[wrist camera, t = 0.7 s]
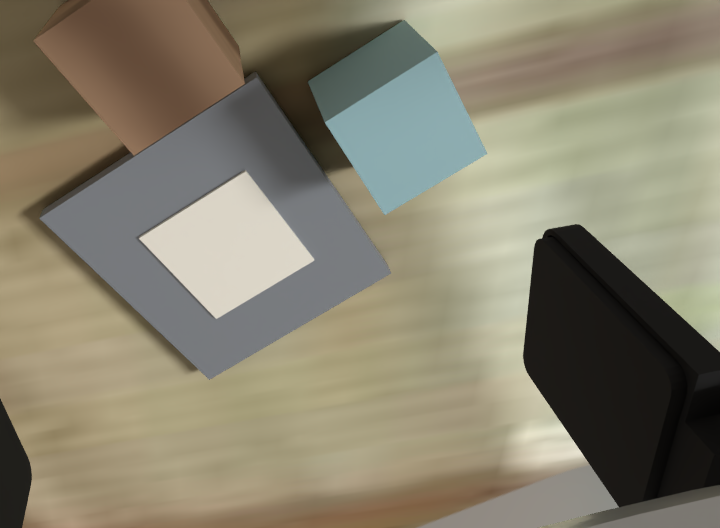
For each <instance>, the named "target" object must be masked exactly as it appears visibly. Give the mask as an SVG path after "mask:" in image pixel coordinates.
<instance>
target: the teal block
mask: <svg viewBox="0 0 720 528" xmlns="http://www.w3.org/2000/svg"><path fill="white" fill-rule="evenodd" d="M308 83H309V86H310V88H311V91H312V93H313V95H314V98H315V100H316V103H317V105H318V107H319V110H320V112H321V115H322V117H323V119H324V122H325V124H326V125H327V127H328V128H329V130H330V131H331V133H332V134H333V136H334V138H335V139H336V141H337V142H338V144H339V145H340V147H341V148H342V150H343V151H344V153H345V155H346V156H347V158H348V159H349V161H350V162H351V164H352V165H353V167H354V169H355V170H356V172H357V173H358V175H359V176H360V178H361V179H362V181H363V182H364V184H365V186H366V187H367V189H368V190H369V192H370V193H371V195H372V196H373V198H374V199H375V201H376V203H377V204H378V206H379V207H380V209H381V210H382V212H383V213H384V215H386V214H387V213H389V212H391V211H392V210H394V209H396V208H397V207H399V206H401V205H402V204H404V203H406V202H407V201H409V200H411V199H412V198H414V197H416V196H417V195H419V194H421V193H422V192H424V191H426V190H427V189H429V188H431V187H432V186H434V185H436V184H438V183H439V182H441V181H443V180H444V179H446V178H448V177H449V176H451V175H453V174H454V173H456V172H458V171H459V170H461V169H463V168H464V167H466V166H468V165H469V164H471V163H473V162H474V161H476V160H478V159H479V158H481V157H483V156H484V155H486V154H487V152H486V150H485V148H484V146H483V144H482V142H481V140H480V138H479V136H478V134H477V132H476V130H475V128H474V126H473V123H472V121H471V119H470V117H469V115H468V113H467V111H466V109H465V107H464V105H463V103H462V101H461V99H460V97H459V95H458V93H457V91H456V89H455V87H454V85H453V83H452V81H451V79H450V77H449V75H448V73H447V71H446V69H445V66H444V64H443V62H442V60H441V58H440V56H439V54H438V52H437V51H436V50H435V49H434V48H433V47H432V46H431V45H430V44H429V43H428V42H427V41H426V40H425V39H423V38H422V37H421V36H420V35H419V34H418V33H417V32H416V31H415V30H414V29H413V28H412V27H411V26H410V25H409V24H408V23H407V22H406V21H405V20H403V21H402V22H400V23H398V24H397V25H395V26H394V27H392V28H391V29H389V30H388V31H386V32H384V33H383V34H381V35H380V36H378V37H377V38H375V39H373V40H372V41H370V42H369V43H367V44H366V45H364V46H362V47H361V48H359V49H358V50H356V51H355V52H353V53H352V54H350V55H348V56H347V57H345V58H344V59H342V60H341V61H339V62H337V63H336V64H334V65H333V66H331V67H330V68H328V69H326V70H325V71H323V72H322V73H320V74H319V75H317V76H316V77H314V78H312V79H311V80H309V81H308Z"/></svg>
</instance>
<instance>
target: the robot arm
mask: <svg viewBox="0 0 720 528" xmlns="http://www.w3.org/2000/svg"><path fill="white" fill-rule="evenodd" d="M523 359H524V365H525V368H526V371H527V373H528V375H529V376H530V378H531V379H532V381H533V382H534V384H535V385H536V386H537V388H538V389H539V391H540V392H541V394H542V395H543V397H544V398H545V400H546V401H547V403H548V404H549V405H550V407H551V408H552V410H553V411H554V413H555V414H556V416H557V417H558V419H559V420H560V421H561V423H562V424H563V426H564V427H565V429H566V430H567V432H568V433H569V435H570V436H571V438H572V439H573V440H574V442H575V443H576V445H577V446H578V448H579V449H580V451H581V452H582V454H583V455H584V457H585V458H586V459H587V461H588V462H589V464H590V465H591V467H592V468H593V470H594V471H595V473H596V474H597V475H598V477H599V478H600V480H601V481H602V482H603V484H604V486H605V487H606V489H607V490H608V492H609V493H610V494H611V496H612V497H613V499H614V500H615V502H616V503H617V505H618V506H619V508H615V509H610V510H606V511H602V512H598V513H594V514H590V515H586V516H582V517H578V518H575V519H571V520H567V521H563V522H559V523H555V524H551V525H547V526H543V527H539V528H720V352H719V351H718V350H717V349H716V348H715V347H713V346H712V345H711V344H710V343H709V342H708V341H707V340H706V339H705V338H704V337H703V336H701V335H700V334H699V333H698V332H697V331H696V330H695V329H694V328H693V327H692V326H691V325H689V324H688V323H687V322H686V321H685V320H684V319H683V318H682V317H681V316H680V315H679V314H677V313H676V312H675V311H674V310H673V309H672V308H671V307H670V306H669V305H668V304H667V303H665V302H664V301H663V300H662V299H661V298H660V297H659V296H658V295H657V294H656V293H655V292H653V291H652V290H651V289H650V288H649V287H648V286H647V285H646V284H645V283H644V282H643V281H641V280H640V279H639V278H638V277H637V276H636V275H635V274H634V273H633V272H632V271H631V270H629V269H628V268H627V267H626V266H625V265H624V264H623V263H622V262H621V261H620V260H619V259H617V258H616V257H615V256H614V255H613V254H612V253H611V252H610V251H609V250H608V249H607V248H605V247H604V246H603V245H602V244H601V243H600V242H599V241H598V240H597V239H596V238H595V237H593V236H592V235H591V234H590V233H589V232H588V231H587V230H586V229H585V228H584V227H582V226H581V225H577V224H575V225H570V226H564V227H558V228H553V229H548V230H546V231H545V233H544V235H543V238H542V239H538V240H537V241H536V243H535V247H534V256H533V265H532V275H531V285H530V294H529V304H528V314H527V323H526V333H525V343H524V352H523ZM31 480H32V473H31V466H30V462H29V459H28V457H27V455H26V453H25V451H24V448H23V446H22V444H21V442H20V440H19V438H18V436H17V433H16V431H15V429H14V427H13V425H12V423H11V421H10V419H9V416H8V414H7V412H6V410H5V408H4V406H3V404H2V401H1V399H0V528H22V525H23V520H24V515H25V510H26V506H27V501H28V496H29V491H30V486H31Z"/></svg>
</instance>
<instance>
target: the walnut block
mask: <svg viewBox="0 0 720 528" xmlns="http://www.w3.org/2000/svg"><path fill="white" fill-rule="evenodd" d="M33 41H34V42H35V44H36V45H37V46H38V47H39V48H40V49H41V50H42V52H43V53H44V54H45V55H46V56H47V57H48V58H49V60H50V61H51V62H52V63H53V64H54V65H55V66H56V68H57V69H58V70H59V71H60V72H61V73H62V74H63V76H64V77H65V78H66V79H67V80H68V81H69V82H70V84H71V85H72V86H73V87H74V88H75V89H76V90H77V91H78V93H79V94H80V95H81V96H82V97H83V98H84V99H85V101H86V102H87V103H88V104H89V105H90V106H91V107H92V109H93V110H94V111H95V112H96V113H97V114H98V115H99V117H100V118H101V119H102V120H103V121H104V122H105V123H106V125H107V126H108V127H109V128H110V129H111V130H112V131H113V133H114V134H115V135H116V136H117V137H118V138H119V139H120V141H121V142H122V143H123V144H124V145H125V146H126V147H127V148H128V150H129V151H130V152H131V153H132V154H133V155H136V154H137V153H139V152H140V151H142V150H143V149H145V148H146V147H148V146H150V145H151V144H153V143H154V142H156V141H157V140H159V139H160V138H162V137H163V136H165V135H167V134H168V133H170V132H171V131H173V130H174V129H176V128H177V127H179V126H180V125H182V124H184V123H185V122H187V121H188V120H190V119H191V118H193V117H194V116H196V115H197V114H199V113H201V112H202V111H204V110H205V109H207V108H208V107H210V106H211V105H213V104H214V103H216V102H218V101H219V100H221V99H222V98H224V97H225V96H227V95H228V94H230V93H231V92H233V91H235V90H236V89H238V88H239V87H241V86H242V85H244V84H245V81H244V75H243V69H242V63H241V57H240V51H239V46H238V45H237V43H236V42H235V40H234V39H233V37H232V36H231V34H230V33H229V31H228V30H227V28H226V27H225V26H224V24H223V23H222V21H221V20H220V18H219V17H218V15H217V14H216V12H215V11H214V9H213V8H212V6H211V5H210V3H209V2H208V1H207V0H68V1H67V2H65V3H64V4H62V5H61V6H60V7H59V8H58V9H57V10H56V11H55V13H54V14H53V15H52V17H51V18H50V19H49V21H48V22H47V23H46V24H45V26H44V27H43V28H42V30H41V31H40V32H39V34H38V35H37V36H36V38H35V39H34V40H33Z"/></svg>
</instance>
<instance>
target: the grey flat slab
mask: <svg viewBox="0 0 720 528" xmlns="http://www.w3.org/2000/svg"><path fill="white" fill-rule="evenodd" d="M244 81H245V84H244V85H242V86H241V87H239V88H238V89H236V90H235V91H233V92H231V93H230V94H228V95H227V96H225V97H224V98H222V99H221V100H219V101H218V102H216V103H214V104H213V105H211V106H210V107H208V108H207V109H205V110H204V111H202V112H201V113H199V114H197V115H196V116H194V117H193V118H191V119H190V120H188V121H187V122H185V123H184V124H182V125H180V126H179V127H177V128H176V129H174V130H173V131H171V132H170V133H168V134H167V135H165V136H163V137H162V138H160V139H159V140H157V141H156V142H154V143H153V144H151V145H150V146H148V147H146V148H145V149H143V150H142V151H140V152H139V153H137V154H136V155H133V154H132V153H129V154H128V155H126V156H124V157H123V158H121V159H120V160H118V161H117V162H115V163H114V164H112V165H111V166H109V167H108V168H106V169H104V170H103V171H101V172H100V173H98V174H97V175H95V176H94V177H92V178H91V179H89V180H88V181H86V182H84V183H83V184H81V185H80V186H78V187H77V188H75V189H74V190H72V191H71V192H69V193H68V194H66V195H64V196H63V197H61V198H60V199H58V200H57V201H55V202H54V203H52V204H51V205H49V206H48V207H46V208H44V209H43V210H42V213H41V215H40V218H39V219H40V220H42V221H43V222H44V223H45V224H46V225H47V226H48V227H49V228H50V229H51V230H52V231H53V232H54V233H55V234H56V235H57V236H58V237H59V238H60V239H62V240H63V241H64V242H65V243H66V244H67V245H68V246H69V247H70V248H71V249H72V250H73V251H74V252H75V253H76V254H77V255H78V256H79V257H81V258H82V259H83V260H84V261H85V262H86V263H87V264H88V265H89V266H90V267H91V268H92V269H93V270H94V271H95V272H96V273H97V274H98V275H100V276H101V277H102V278H103V279H104V280H105V281H106V282H107V283H108V284H109V285H110V286H111V287H112V288H113V289H114V290H115V291H116V292H117V293H118V294H120V295H121V296H122V297H123V298H124V299H125V300H126V301H127V302H128V303H129V304H130V305H131V306H132V307H133V308H134V309H135V310H136V311H137V312H139V313H140V314H141V315H142V316H143V317H144V318H145V319H146V320H147V321H148V322H149V323H150V324H151V325H152V326H153V327H154V328H155V329H156V330H157V331H159V332H160V333H161V334H162V335H163V336H164V337H165V338H166V339H167V340H168V341H169V342H170V343H171V344H172V345H173V346H174V347H175V348H176V349H178V350H179V351H180V352H181V353H182V354H183V355H184V356H185V357H186V358H187V359H188V360H189V361H190V362H191V363H192V364H193V365H194V366H195V367H196V368H198V369H199V370H200V371H201V372H202V373H203V374H204V375H205V376H206V377H207V378H208V379H209V380H210V379H211V378H213V377H215V376H216V375H218V374H220V373H222V372H223V371H225V370H227V369H228V368H230V367H232V366H234V365H235V364H237V363H239V362H240V361H242V360H244V359H245V358H247V357H249V356H251V355H252V354H254V353H256V352H257V351H259V350H261V349H263V348H264V347H266V346H268V345H269V344H271V343H273V342H275V341H276V340H278V339H280V338H281V337H283V336H285V335H287V334H288V333H290V332H292V331H293V330H295V329H297V328H299V327H300V326H302V325H304V324H305V323H307V322H309V321H310V320H312V319H314V318H316V317H317V316H319V315H321V314H322V313H324V312H326V311H328V310H329V309H331V308H333V307H334V306H336V305H338V304H340V303H341V302H343V301H345V300H346V299H348V298H350V297H352V296H353V295H355V294H357V293H358V292H360V291H362V290H363V289H365V288H367V287H369V286H370V285H372V284H374V283H375V282H377V281H379V280H381V279H382V278H384V277H386V276H387V275H389V274H391V272H390V269H389V267H388V265H387V263H386V262H385V260H384V259H383V257H382V256H381V254H380V253H379V251H378V250H377V249H376V247H375V246H374V244H373V243H372V241H371V240H370V238H369V237H368V235H367V234H366V232H365V231H364V229H363V228H362V227H361V225H360V224H359V222H358V221H357V219H356V218H355V216H354V215H353V213H352V212H351V210H350V209H349V208H348V206H347V205H346V203H345V202H344V200H343V199H342V197H341V196H340V194H339V193H338V191H337V190H336V188H335V187H334V186H333V184H332V183H331V181H330V180H329V178H328V177H327V175H326V174H325V172H324V171H323V169H322V168H321V167H320V165H319V164H318V162H317V161H316V159H315V158H314V156H313V155H312V153H311V152H310V150H309V149H308V147H307V146H306V145H305V143H304V142H303V140H302V139H301V137H300V136H299V134H298V133H297V131H296V130H295V128H294V127H293V126H292V124H291V123H290V121H289V120H288V118H287V117H286V115H285V114H284V112H283V111H282V109H281V108H280V106H279V105H278V104H277V102H276V101H275V99H274V98H273V96H272V95H271V93H270V92H269V90H268V89H267V87H266V86H265V85H264V83H263V82H262V80H261V79H260V77H259V76H258V74H257V73H256V71H255V72H254V73H252V74H251V75H249V76H248V77H246V78H245V79H244Z"/></svg>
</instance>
